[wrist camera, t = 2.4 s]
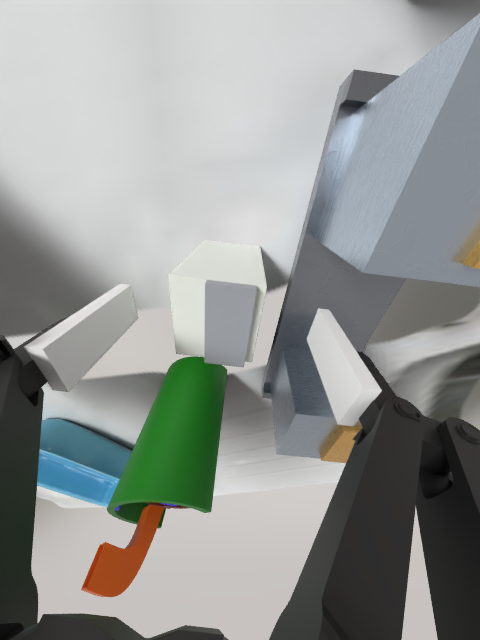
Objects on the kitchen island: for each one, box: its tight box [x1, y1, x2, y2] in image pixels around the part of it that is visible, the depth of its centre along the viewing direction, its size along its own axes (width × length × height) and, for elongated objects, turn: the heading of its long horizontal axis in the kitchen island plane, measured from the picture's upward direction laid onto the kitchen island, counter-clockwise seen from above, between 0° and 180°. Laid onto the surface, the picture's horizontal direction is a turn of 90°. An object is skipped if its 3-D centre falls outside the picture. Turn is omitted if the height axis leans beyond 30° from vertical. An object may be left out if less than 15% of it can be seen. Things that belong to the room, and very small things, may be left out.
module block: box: [168, 240, 267, 367], centre depth 16 cm, size 6×6×11 cm
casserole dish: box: [37, 418, 133, 507], centre depth 44 cm, size 37×22×7 cm, turn 39°
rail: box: [262, 13, 480, 463], centre depth 18 cm, size 11×32×11 cm, turn 174°
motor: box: [81, 357, 227, 597], centre depth 22 cm, size 10×9×20 cm
